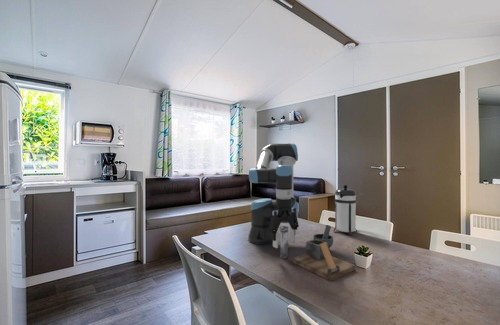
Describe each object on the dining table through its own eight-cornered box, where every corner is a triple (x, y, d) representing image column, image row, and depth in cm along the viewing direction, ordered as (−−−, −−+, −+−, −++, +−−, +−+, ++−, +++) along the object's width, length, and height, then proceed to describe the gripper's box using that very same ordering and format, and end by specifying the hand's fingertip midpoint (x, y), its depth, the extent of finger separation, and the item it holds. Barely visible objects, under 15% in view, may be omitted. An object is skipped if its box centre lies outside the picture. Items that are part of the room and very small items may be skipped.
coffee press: (364, 235, 145) (364, 186, 145) (337, 235, 145) (337, 186, 145) (352, 227, 163) (352, 183, 162) (328, 227, 163) (328, 183, 162)
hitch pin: (277, 256, 114) (278, 227, 114) (284, 254, 117) (284, 225, 116) (283, 259, 111) (283, 229, 111) (290, 257, 113) (290, 227, 113)
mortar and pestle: (326, 255, 116) (326, 230, 115) (309, 249, 123) (309, 226, 122) (337, 249, 123) (338, 226, 123) (321, 244, 130) (321, 222, 130)
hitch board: (293, 262, 107) (293, 244, 107) (316, 254, 117) (316, 238, 117) (331, 281, 91) (331, 260, 91) (355, 270, 100) (355, 251, 100)
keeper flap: (318, 244, 98) (320, 243, 97) (324, 242, 100) (326, 241, 99) (329, 273, 93) (332, 272, 93) (336, 270, 96) (338, 270, 95)
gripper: (270, 201, 104) (270, 252, 104) (306, 196, 117) (306, 242, 117) (260, 199, 110) (260, 247, 110) (295, 194, 123) (295, 238, 123)
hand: (283, 244), depth 114 cm, fingers open, 10 cm apart
